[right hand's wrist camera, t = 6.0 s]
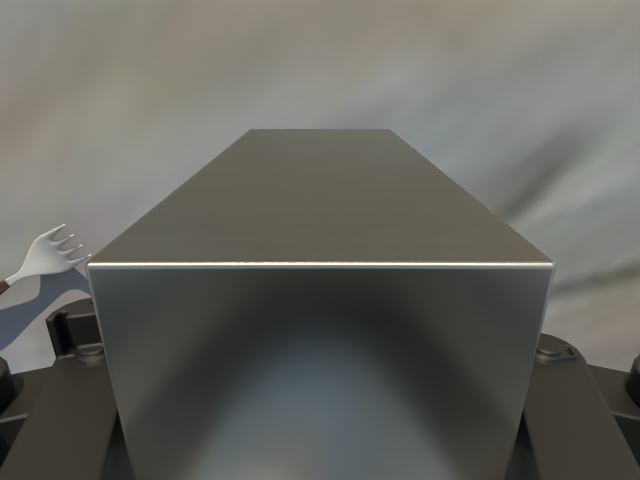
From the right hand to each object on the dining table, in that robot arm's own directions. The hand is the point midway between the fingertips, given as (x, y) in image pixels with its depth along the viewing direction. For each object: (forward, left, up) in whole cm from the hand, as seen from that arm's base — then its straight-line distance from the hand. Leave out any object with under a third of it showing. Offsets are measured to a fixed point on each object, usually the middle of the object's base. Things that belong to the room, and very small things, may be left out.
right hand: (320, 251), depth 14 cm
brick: (0, 0, -2) cm, 2 cm away
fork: (+9, +20, -11) cm, 24 cm away
